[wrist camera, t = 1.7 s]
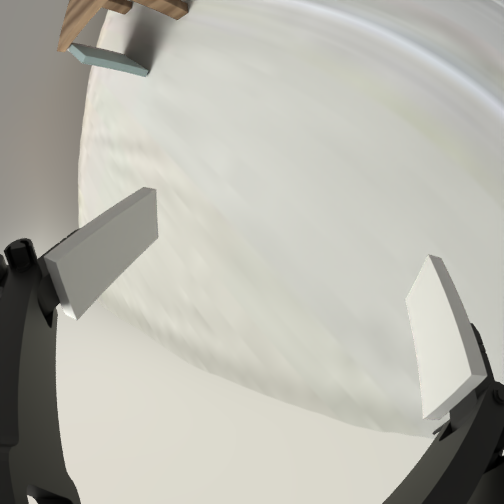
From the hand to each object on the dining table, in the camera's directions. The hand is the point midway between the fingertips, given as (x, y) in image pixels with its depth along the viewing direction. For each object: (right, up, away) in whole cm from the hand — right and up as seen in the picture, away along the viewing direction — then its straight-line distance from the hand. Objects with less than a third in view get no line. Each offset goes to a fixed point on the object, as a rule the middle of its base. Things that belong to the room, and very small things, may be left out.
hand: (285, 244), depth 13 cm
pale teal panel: (-28, +41, +35) cm, 60 cm away
